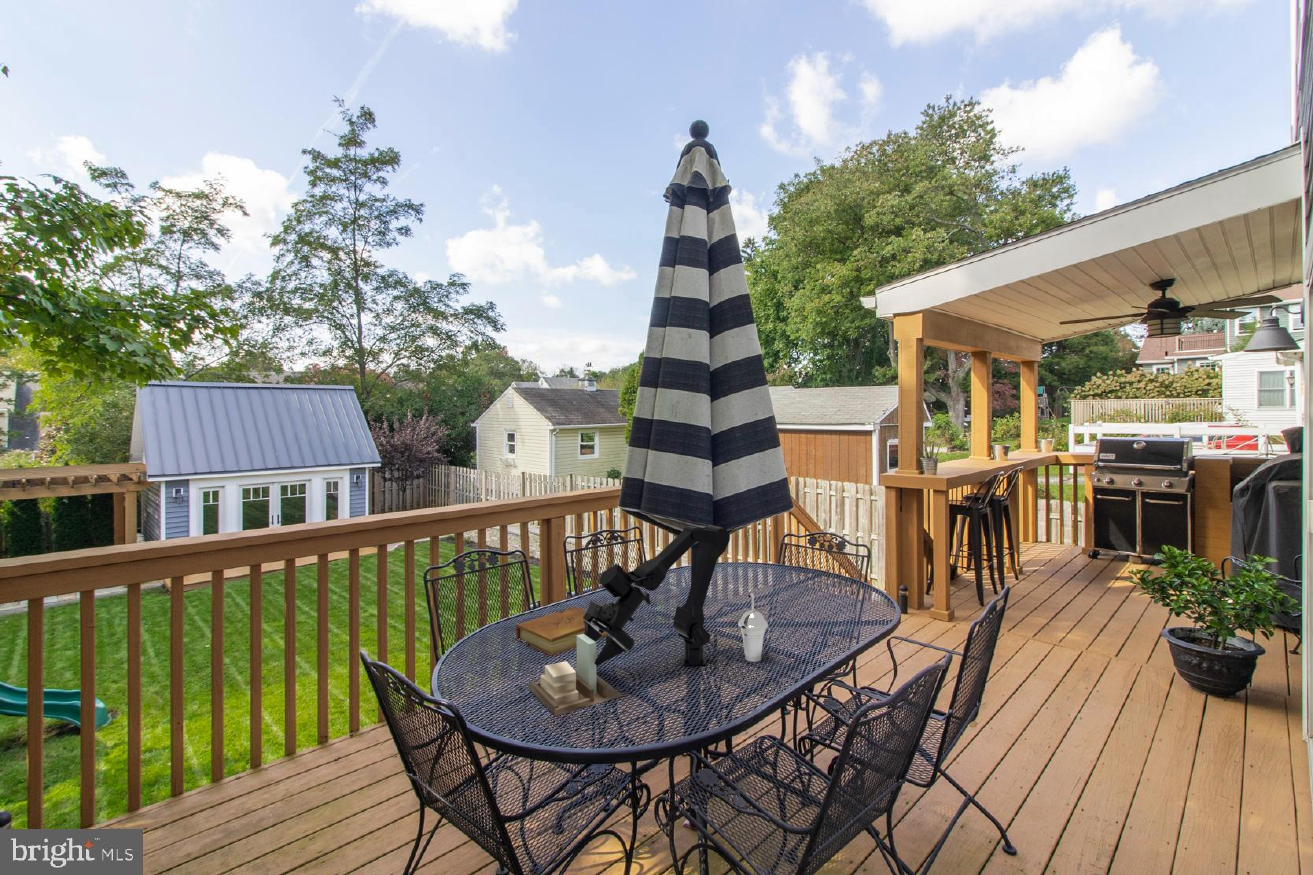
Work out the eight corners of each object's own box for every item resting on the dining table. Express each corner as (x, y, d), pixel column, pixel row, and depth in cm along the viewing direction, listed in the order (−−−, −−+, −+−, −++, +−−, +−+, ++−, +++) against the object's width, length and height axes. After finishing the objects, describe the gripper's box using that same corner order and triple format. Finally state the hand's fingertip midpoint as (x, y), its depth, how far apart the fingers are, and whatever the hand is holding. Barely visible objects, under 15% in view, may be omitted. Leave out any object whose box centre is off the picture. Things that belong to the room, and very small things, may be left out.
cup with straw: (773, 658, 168) (773, 589, 167) (755, 667, 162) (755, 596, 161) (749, 650, 174) (749, 583, 173) (730, 659, 168) (730, 590, 167)
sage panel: (584, 683, 151) (583, 633, 151) (596, 693, 145) (596, 642, 145) (577, 685, 150) (576, 635, 150) (589, 695, 144) (588, 644, 144)
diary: (573, 622, 200) (573, 606, 200) (609, 636, 187) (609, 618, 187) (515, 641, 183) (515, 623, 183) (551, 657, 171) (550, 638, 170)
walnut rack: (593, 675, 158) (593, 661, 158) (623, 698, 144) (622, 683, 144) (529, 692, 148) (529, 678, 148) (555, 719, 134) (555, 703, 134)
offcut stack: (564, 686, 149) (563, 659, 149) (579, 701, 142) (579, 671, 141) (539, 693, 145) (539, 665, 145) (554, 708, 138) (554, 678, 138)
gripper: (589, 581, 158) (551, 629, 152) (624, 598, 142) (583, 653, 136) (614, 604, 162) (578, 652, 157) (651, 624, 147) (612, 678, 141)
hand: (587, 658), depth 148 cm, fingers open, 9 cm apart
